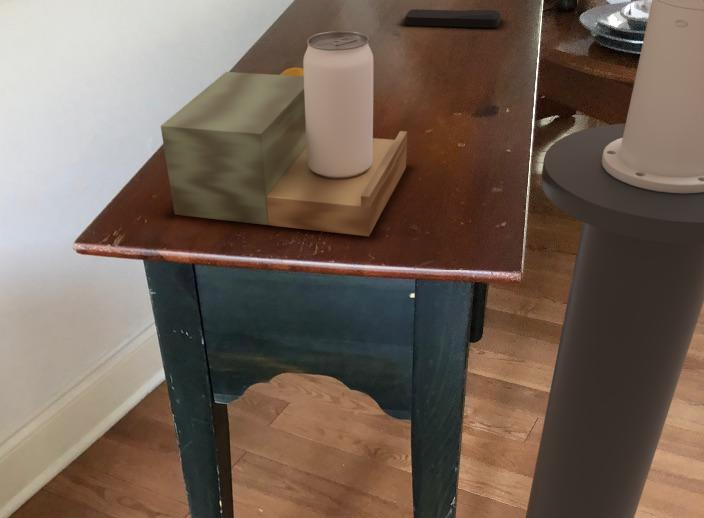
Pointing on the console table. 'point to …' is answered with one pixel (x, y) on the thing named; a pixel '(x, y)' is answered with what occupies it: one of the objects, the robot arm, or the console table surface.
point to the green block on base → (268, 161)
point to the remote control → (453, 18)
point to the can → (339, 104)
